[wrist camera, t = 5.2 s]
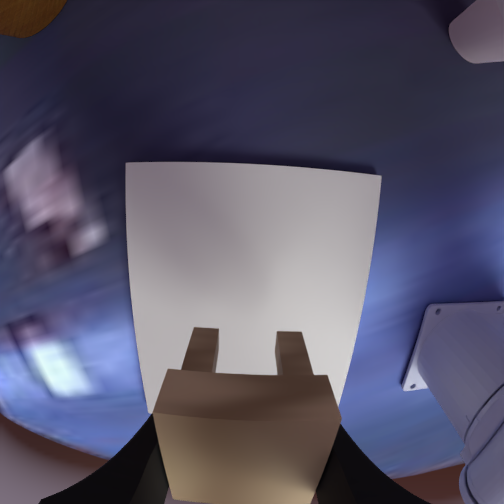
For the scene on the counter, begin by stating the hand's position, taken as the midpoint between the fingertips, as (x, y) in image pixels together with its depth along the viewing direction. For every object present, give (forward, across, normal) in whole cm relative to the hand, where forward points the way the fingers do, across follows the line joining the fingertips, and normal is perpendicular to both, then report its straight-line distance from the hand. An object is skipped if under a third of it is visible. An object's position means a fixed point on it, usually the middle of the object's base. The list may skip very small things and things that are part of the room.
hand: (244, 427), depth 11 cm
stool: (+3, 0, 0) cm, 3 cm away
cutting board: (+10, 0, 0) cm, 10 cm away
